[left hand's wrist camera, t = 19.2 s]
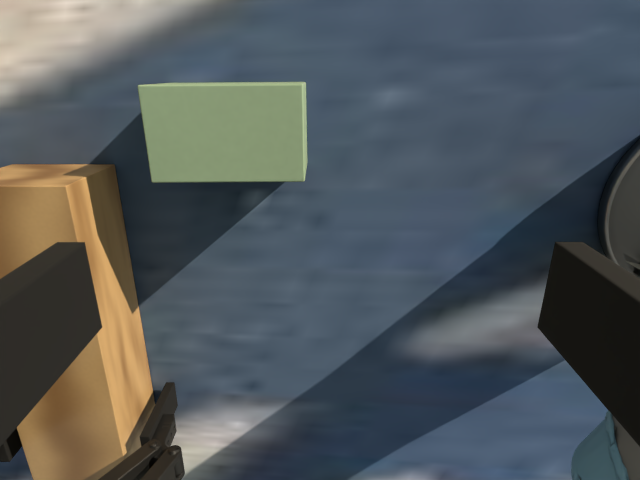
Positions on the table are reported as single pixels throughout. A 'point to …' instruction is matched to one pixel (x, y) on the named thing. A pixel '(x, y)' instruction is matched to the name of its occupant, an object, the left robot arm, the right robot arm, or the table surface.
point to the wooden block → (115, 312)
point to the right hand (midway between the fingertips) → (109, 393)
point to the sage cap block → (225, 131)
